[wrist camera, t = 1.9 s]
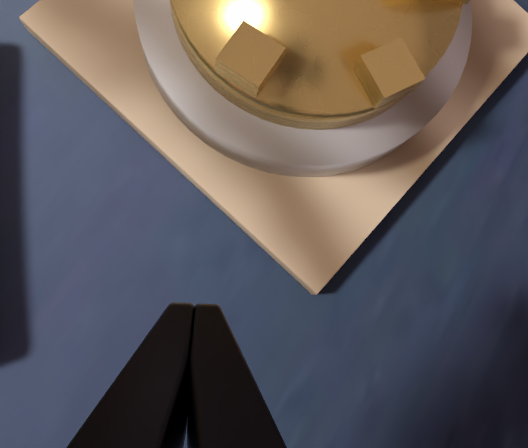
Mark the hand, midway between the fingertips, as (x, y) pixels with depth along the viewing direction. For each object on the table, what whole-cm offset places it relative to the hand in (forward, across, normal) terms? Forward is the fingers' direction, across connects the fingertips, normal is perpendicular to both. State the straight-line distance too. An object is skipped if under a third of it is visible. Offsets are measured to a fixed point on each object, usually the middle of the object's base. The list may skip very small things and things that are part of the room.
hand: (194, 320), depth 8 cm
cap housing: (+19, -4, 0) cm, 19 cm away
